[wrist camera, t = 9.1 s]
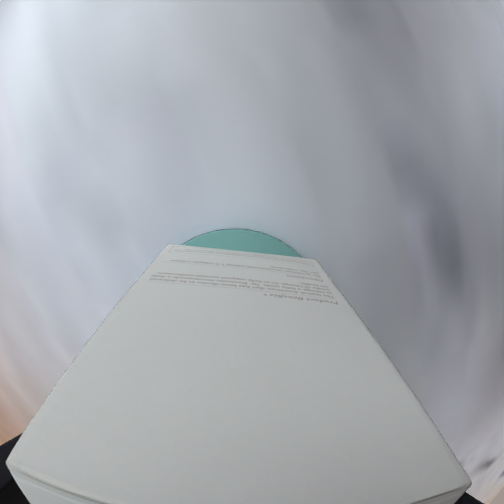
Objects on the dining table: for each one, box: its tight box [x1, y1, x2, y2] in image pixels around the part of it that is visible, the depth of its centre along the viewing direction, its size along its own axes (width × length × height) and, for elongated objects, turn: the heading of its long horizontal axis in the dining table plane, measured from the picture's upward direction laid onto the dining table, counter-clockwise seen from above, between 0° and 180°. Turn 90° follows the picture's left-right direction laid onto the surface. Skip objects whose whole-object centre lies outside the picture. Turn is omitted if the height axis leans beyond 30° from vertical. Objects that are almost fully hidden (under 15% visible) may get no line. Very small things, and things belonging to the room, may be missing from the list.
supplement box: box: [6, 244, 472, 504], centre depth 10 cm, size 7×7×13 cm
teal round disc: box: [182, 229, 302, 258], centre depth 16 cm, size 9×9×1 cm
